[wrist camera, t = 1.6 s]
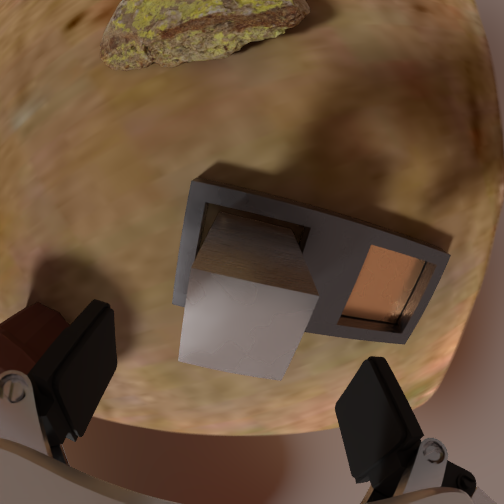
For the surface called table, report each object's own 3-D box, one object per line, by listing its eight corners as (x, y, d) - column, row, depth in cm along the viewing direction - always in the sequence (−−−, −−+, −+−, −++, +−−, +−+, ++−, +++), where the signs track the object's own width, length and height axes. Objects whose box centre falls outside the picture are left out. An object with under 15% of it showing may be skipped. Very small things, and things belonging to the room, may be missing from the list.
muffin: (77, 295, 19) (8, 374, 10) (115, 386, 23) (82, 462, 14) (3, 288, 19) (-53, 339, 10) (40, 367, 23) (3, 422, 14)
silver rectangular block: (219, 211, 16) (191, 267, 9) (291, 228, 17) (319, 296, 9) (206, 276, 18) (178, 360, 11) (271, 291, 18) (281, 380, 11)
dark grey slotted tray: (197, 177, 16) (191, 180, 14) (439, 247, 17) (450, 255, 16) (177, 292, 18) (172, 303, 17) (397, 333, 20) (404, 344, 18)
